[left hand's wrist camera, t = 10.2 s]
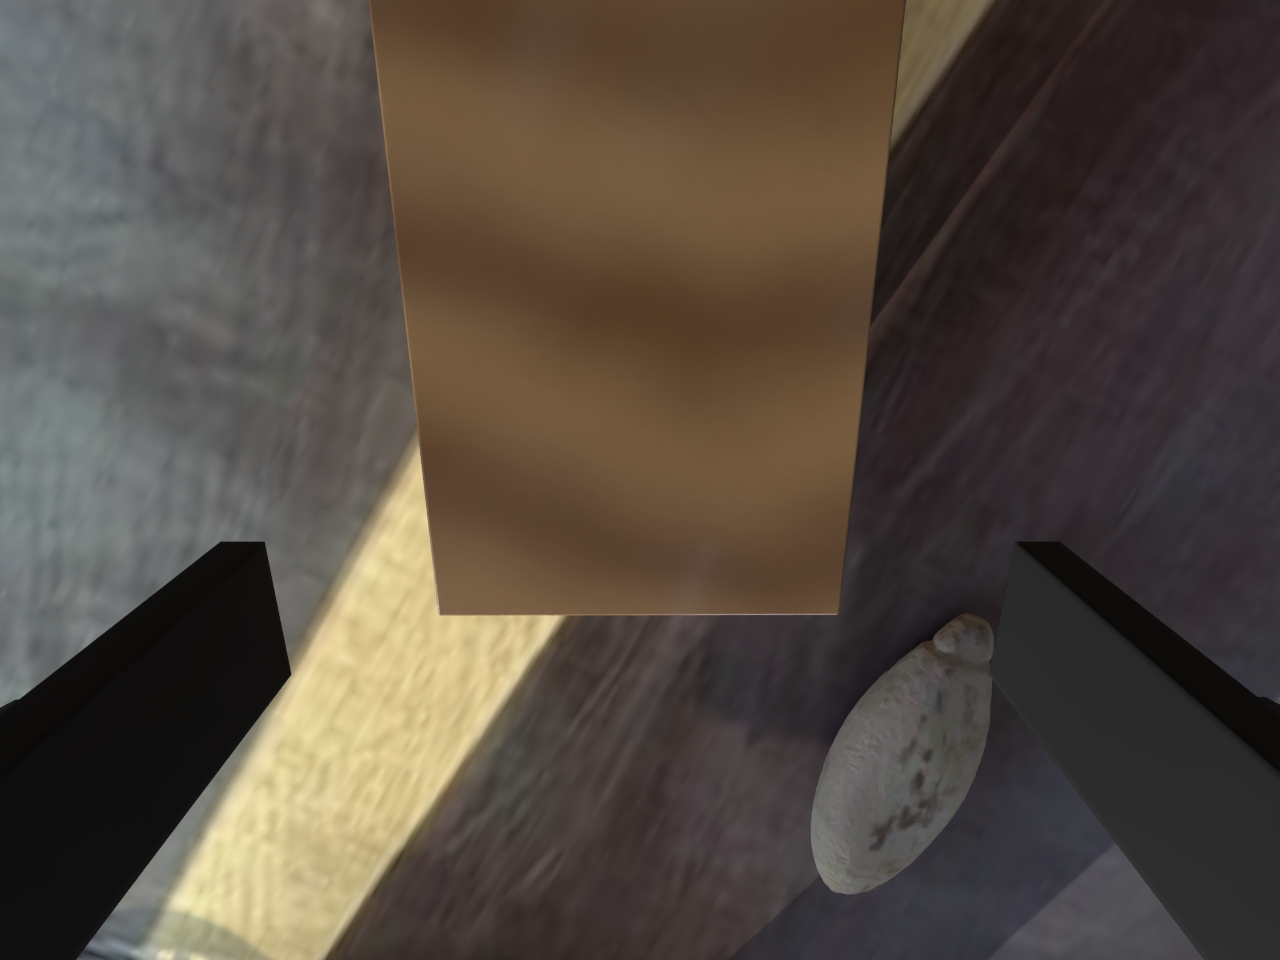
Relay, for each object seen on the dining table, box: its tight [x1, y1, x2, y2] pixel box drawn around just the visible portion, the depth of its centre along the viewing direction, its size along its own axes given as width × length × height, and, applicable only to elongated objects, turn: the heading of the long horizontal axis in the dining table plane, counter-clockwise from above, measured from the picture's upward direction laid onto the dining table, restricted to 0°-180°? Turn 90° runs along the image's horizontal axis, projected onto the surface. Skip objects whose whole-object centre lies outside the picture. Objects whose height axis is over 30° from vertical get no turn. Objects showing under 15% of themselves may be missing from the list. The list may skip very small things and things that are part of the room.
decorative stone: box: [811, 613, 994, 895], centre depth 33 cm, size 6×16×3 cm, turn 164°
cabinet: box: [369, 0, 906, 615], centre depth 21 cm, size 17×11×11 cm, turn 0°
